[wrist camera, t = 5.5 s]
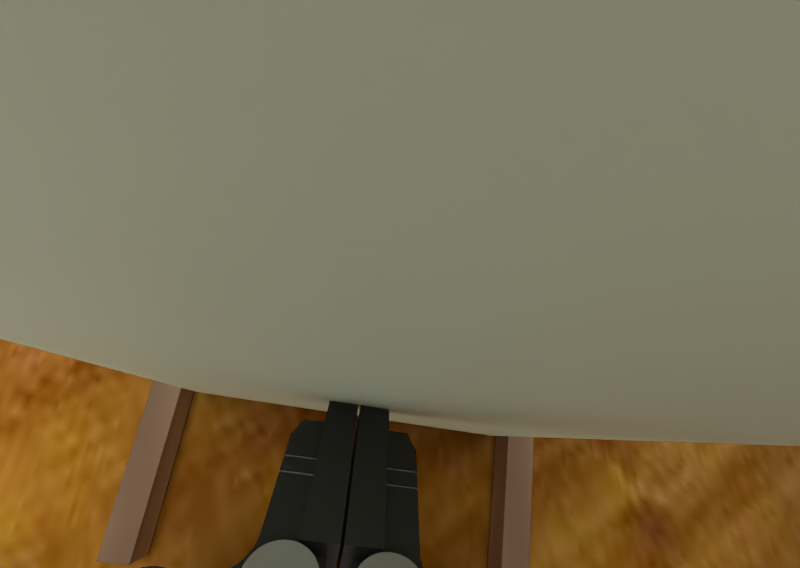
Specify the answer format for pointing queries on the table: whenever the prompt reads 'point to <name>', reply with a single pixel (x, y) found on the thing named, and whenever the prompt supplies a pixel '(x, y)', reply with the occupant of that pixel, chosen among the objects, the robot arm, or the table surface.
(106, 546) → the rails
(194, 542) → the table surface
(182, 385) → the hood
